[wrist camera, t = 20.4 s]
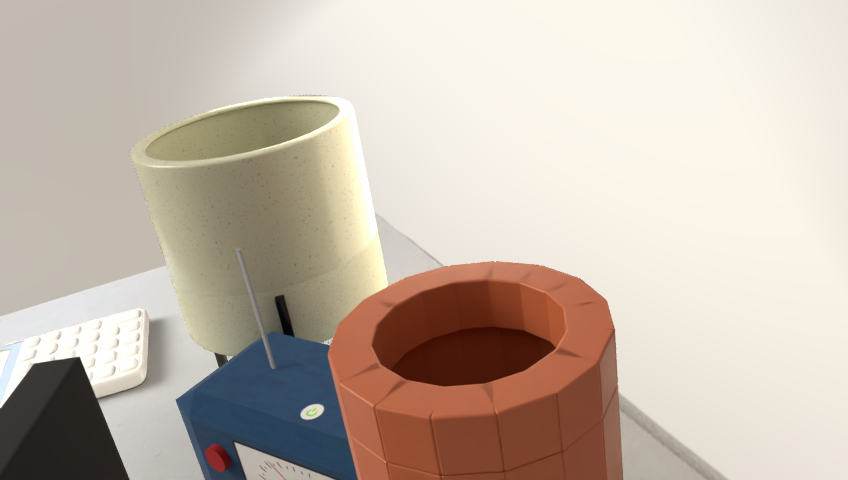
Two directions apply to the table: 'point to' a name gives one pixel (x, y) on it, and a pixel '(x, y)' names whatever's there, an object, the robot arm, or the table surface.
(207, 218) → the planter
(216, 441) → the radio
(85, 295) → the table surface
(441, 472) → the canister
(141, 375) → the calculator
